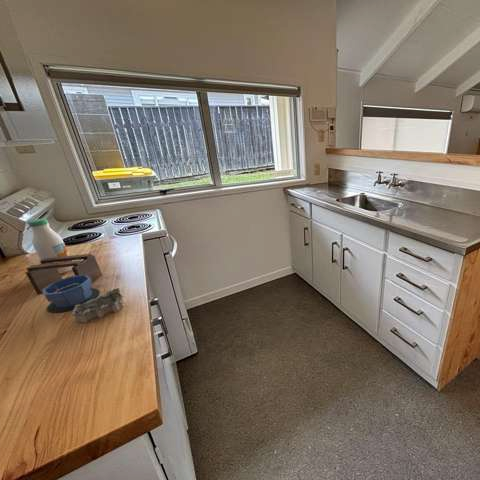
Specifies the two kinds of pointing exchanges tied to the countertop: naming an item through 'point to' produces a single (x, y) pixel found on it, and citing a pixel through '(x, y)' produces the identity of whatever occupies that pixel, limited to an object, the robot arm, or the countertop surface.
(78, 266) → the rack
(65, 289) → the bowl
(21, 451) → the countertop surface
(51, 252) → the milk bottle
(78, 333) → the countertop surface
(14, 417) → the countertop surface
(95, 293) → the mat
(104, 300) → the egg carton
